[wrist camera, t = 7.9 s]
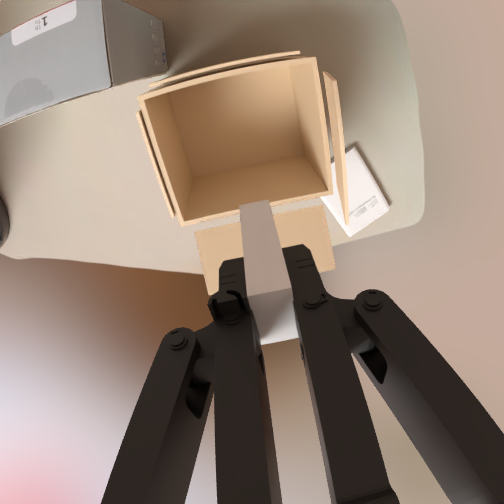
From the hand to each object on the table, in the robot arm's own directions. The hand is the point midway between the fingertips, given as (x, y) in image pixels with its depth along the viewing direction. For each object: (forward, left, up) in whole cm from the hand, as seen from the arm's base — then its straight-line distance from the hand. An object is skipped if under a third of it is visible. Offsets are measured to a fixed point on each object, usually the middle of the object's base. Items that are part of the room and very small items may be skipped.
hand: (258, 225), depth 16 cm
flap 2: (+7, 0, -10) cm, 12 cm away
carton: (0, 0, -26) cm, 26 cm away
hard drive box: (-14, +13, -26) cm, 33 cm away
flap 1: (0, -10, -12) cm, 15 cm away
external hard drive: (+14, -13, -27) cm, 33 cm away
